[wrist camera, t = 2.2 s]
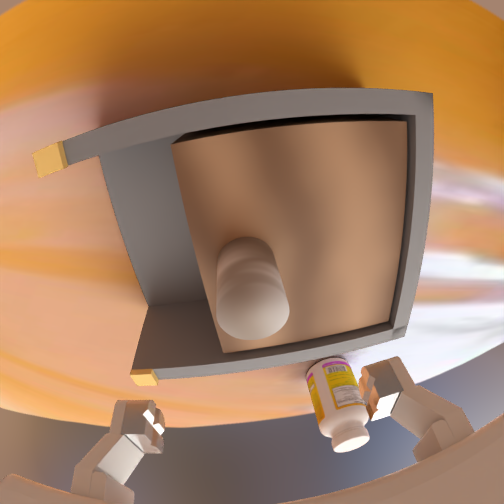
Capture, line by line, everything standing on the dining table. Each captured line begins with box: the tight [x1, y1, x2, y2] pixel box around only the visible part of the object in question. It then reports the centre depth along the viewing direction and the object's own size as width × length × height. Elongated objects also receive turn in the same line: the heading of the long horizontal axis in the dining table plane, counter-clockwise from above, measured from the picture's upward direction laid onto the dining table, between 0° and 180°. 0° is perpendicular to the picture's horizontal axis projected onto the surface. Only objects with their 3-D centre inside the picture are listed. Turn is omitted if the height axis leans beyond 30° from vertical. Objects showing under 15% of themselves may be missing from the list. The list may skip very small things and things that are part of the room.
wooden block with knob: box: [171, 114, 407, 353], centre depth 20 cm, size 14×16×13 cm
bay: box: [32, 88, 434, 386], centre depth 22 cm, size 24×20×11 cm
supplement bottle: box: [306, 358, 370, 452], centre depth 34 cm, size 7×7×13 cm
